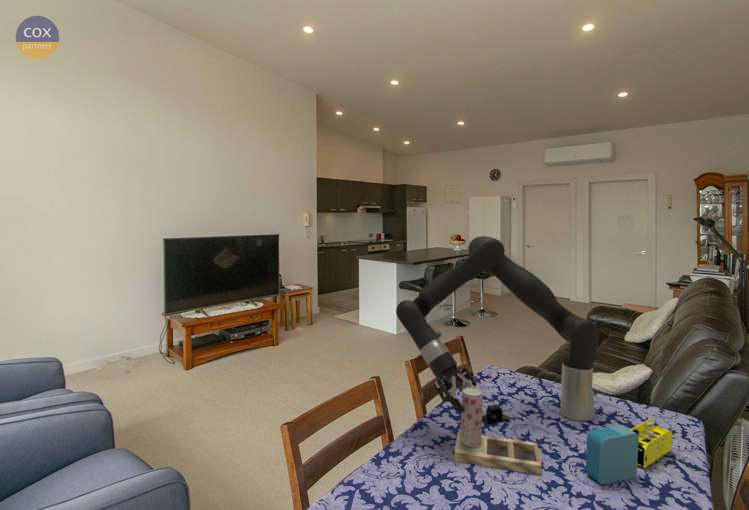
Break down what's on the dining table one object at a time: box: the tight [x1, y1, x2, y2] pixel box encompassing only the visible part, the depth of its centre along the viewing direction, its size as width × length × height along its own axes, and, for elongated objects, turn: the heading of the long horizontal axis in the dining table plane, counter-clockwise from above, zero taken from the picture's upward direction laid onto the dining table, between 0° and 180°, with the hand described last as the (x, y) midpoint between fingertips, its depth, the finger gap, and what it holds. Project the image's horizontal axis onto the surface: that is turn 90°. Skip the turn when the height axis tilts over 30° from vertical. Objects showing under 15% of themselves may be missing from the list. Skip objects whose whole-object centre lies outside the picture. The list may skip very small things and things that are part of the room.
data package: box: [585, 424, 639, 486], centre depth 100 cm, size 12×4×12 cm, turn 106°
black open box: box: [482, 404, 512, 426], centre depth 130 cm, size 12×7×5 cm, turn 106°
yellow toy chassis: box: [630, 418, 673, 469], centre depth 109 cm, size 16×6×8 cm, turn 122°
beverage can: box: [460, 386, 484, 448], centre depth 111 cm, size 6×6×15 cm
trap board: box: [453, 431, 543, 476], centre depth 109 cm, size 22×11×3 cm, turn 74°
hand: (470, 407), depth 110 cm, fingers open, 8 cm apart
